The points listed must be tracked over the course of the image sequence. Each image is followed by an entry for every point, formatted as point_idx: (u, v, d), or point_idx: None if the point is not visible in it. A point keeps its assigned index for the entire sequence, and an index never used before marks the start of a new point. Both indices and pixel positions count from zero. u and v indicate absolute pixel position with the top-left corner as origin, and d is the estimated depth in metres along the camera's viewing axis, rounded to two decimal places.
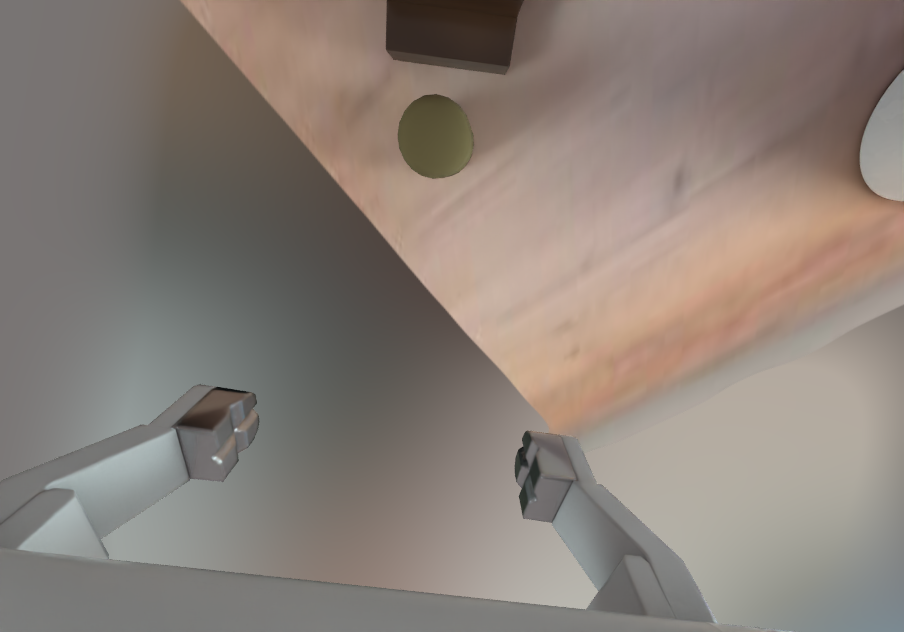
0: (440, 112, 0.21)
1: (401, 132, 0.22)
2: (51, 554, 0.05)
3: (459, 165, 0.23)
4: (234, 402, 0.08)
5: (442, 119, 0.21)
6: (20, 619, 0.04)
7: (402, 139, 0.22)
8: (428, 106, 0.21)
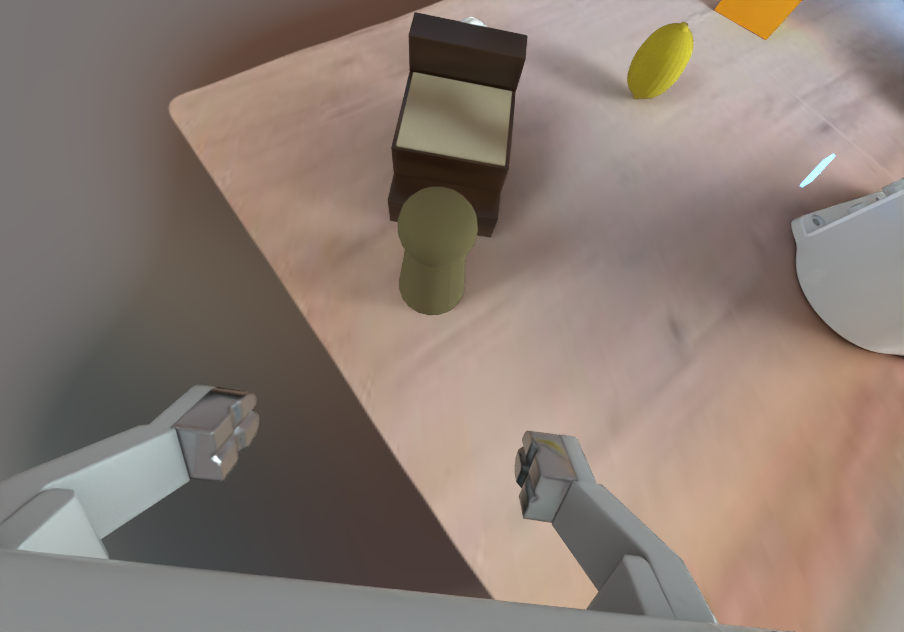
0: (448, 193, 0.20)
1: (404, 209, 0.20)
2: (51, 554, 0.05)
3: (466, 246, 0.20)
4: (235, 402, 0.08)
5: (450, 198, 0.20)
6: (20, 619, 0.04)
7: (404, 214, 0.20)
8: (435, 189, 0.20)
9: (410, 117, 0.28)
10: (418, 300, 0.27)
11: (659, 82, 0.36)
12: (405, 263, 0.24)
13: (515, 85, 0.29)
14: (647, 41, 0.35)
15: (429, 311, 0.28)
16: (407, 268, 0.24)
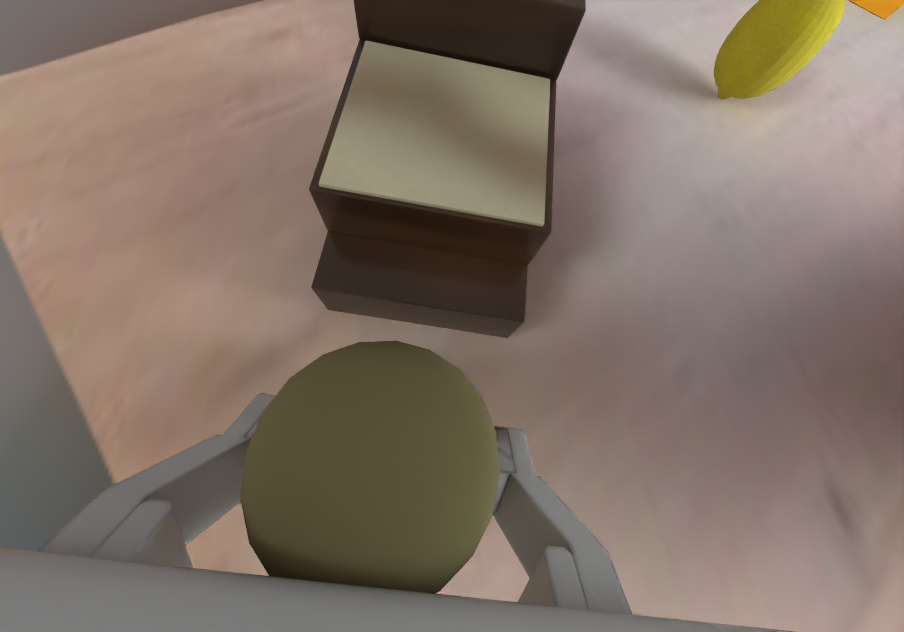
0: (407, 385, 0.06)
1: (254, 445, 0.06)
2: (51, 554, 0.05)
3: (465, 561, 0.06)
4: None
5: (413, 406, 0.06)
6: (20, 619, 0.04)
7: (251, 470, 0.06)
8: (366, 367, 0.06)
9: (353, 126, 0.14)
10: None
11: (778, 72, 0.22)
12: None
13: (557, 67, 0.16)
14: (763, 3, 0.21)
15: None
16: None
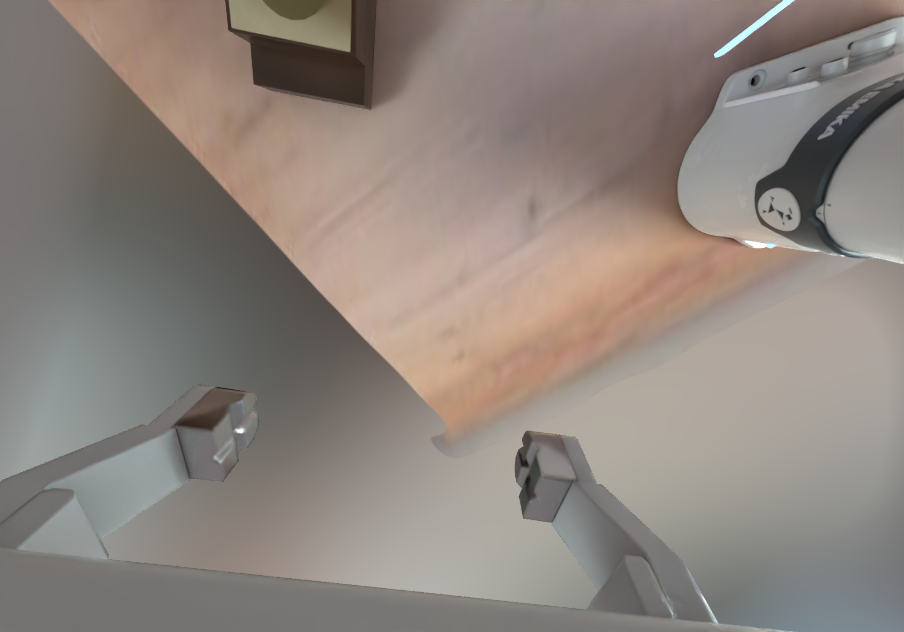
0: None
1: None
2: (51, 554, 0.05)
3: None
4: (234, 402, 0.08)
5: None
6: (20, 619, 0.04)
7: None
8: None
9: None
10: None
11: None
12: None
13: None
14: None
15: (288, 14, 0.24)
16: None
